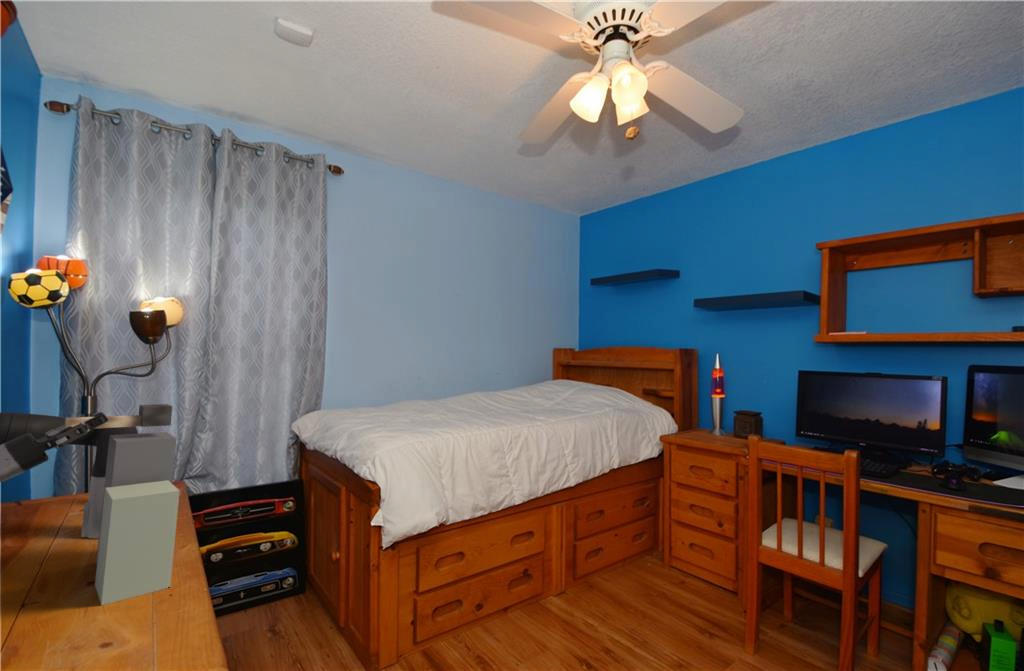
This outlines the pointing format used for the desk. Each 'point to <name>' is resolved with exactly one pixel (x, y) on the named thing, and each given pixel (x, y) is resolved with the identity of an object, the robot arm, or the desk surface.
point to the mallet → (133, 418)
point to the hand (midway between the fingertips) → (104, 416)
